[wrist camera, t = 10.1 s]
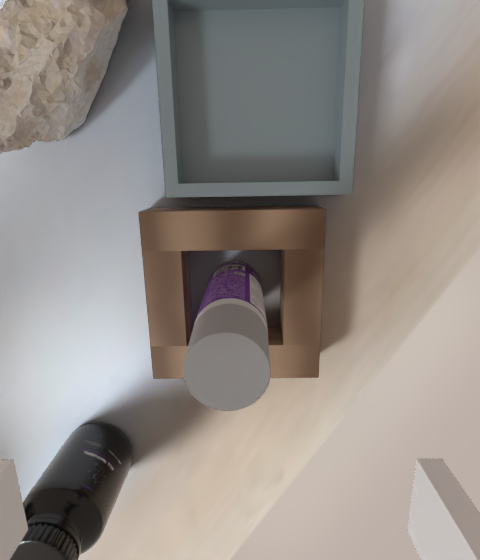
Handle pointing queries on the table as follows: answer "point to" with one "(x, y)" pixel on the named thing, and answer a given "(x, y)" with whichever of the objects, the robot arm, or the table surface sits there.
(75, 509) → the supplement bottle
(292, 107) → the tray
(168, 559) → the table surface
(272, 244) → the block
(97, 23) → the stone
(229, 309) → the container
